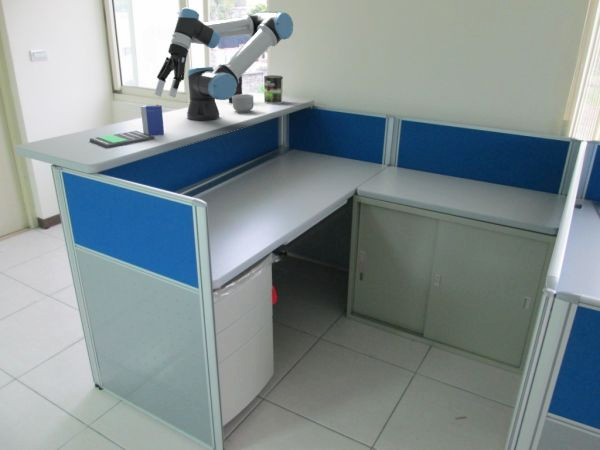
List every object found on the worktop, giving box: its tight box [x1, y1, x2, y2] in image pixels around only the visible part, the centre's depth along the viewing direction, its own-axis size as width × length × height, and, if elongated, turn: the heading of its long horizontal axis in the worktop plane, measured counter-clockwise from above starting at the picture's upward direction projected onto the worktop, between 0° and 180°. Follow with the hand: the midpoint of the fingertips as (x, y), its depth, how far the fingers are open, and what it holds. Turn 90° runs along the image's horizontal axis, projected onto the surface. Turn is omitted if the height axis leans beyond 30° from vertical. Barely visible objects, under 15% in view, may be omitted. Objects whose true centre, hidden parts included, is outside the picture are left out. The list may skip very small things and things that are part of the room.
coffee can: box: [263, 74, 284, 105], centre depth 280 cm, size 10×10×14 cm
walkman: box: [140, 104, 165, 136], centre depth 206 cm, size 8×3×12 cm, turn 96°
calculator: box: [89, 130, 156, 149], centre depth 198 cm, size 20×14×1 cm
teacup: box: [231, 93, 254, 114], centre depth 257 cm, size 14×11×8 cm
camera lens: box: [228, 75, 243, 104], centre depth 278 cm, size 8×8×15 cm
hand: (164, 96), depth 208 cm, fingers open, 13 cm apart
